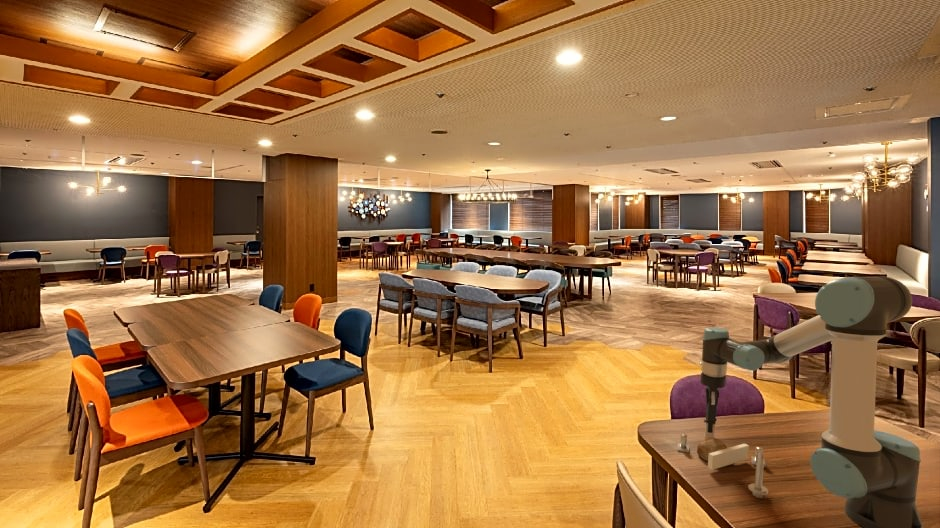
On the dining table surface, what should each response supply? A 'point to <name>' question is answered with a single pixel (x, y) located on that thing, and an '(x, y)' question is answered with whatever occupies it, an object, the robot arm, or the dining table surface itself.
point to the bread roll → (710, 447)
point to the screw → (758, 479)
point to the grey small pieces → (685, 448)
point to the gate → (728, 456)
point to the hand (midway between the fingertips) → (709, 439)
